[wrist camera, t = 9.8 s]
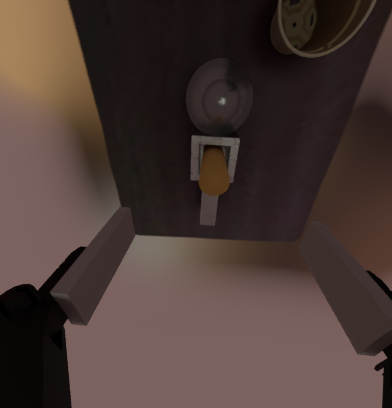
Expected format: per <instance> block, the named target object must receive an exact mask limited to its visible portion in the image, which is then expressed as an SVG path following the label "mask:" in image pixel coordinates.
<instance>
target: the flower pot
mask: <svg viewBox="0 0 392 408" xmlns="http://www.w3.org/2000/svg"><path fill="white" fill-rule="evenodd" d="M290 1H291V0H278V7H277V9H276V11H275V14H274V16H273V19H272V22H271V27H270V37H271V42H272V44H273V46H274V47H275V49H276V50H277V51H278V52H280V53H281V54H285V55H290V54H297V55H299V56H301V57H306V58H315V57H320V56H323V55H326V54H329V53H331V52H333V51H335V50H336V49H338V48H339V47H341V46H342V45H343V44H345V43H346V42H347V41H348V40H349V39H351V38H352V37H353V35H354V34H355V33H356V32H357V31H358V30H359V29H360V27H361V26H362V25H363V23H364V22H365V21H366V19H367V18H368V16H369V14H370V12H371V11H372V9H373V7H374V5H375V3H376V0H299V3H297V4H293V5H291V6H290ZM312 15H313V23H312V25H311V26H310V19H311V16H312ZM294 23H296V26H295V27H293V24H294ZM296 45H297V48H296V49H295V48H294V46H296Z"/></svg>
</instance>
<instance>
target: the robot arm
mask: <svg viewBox="0 0 392 408" xmlns="http://www.w3.org/2000/svg"><path fill="white" fill-rule="evenodd" d="M134 237H135V232H134V227H133V221H132V216H131V211H130V208H127V207H119V209H118V210H117V211H116V212H115V213H114V215H113V216H112V217H111V218H110V219H109V221H108V222H107V223H106V224H105V226H104V227H103V228H102V229H101V231H100V232H99V233H98V234H97V235H96V237H95V238H94V239H93V240H92V242H91V243H90V244H89V245H88V246H87V247H79V248H77V249H76V250H75V251H73V252H72V253H71V254H70V255H69V256H68V257H67V258H66V259H65V261H64V262H63V263H62V264H61V265H60V266H59V268H57V269H56V271H55V272H54V273H53V274H52V275H51V276H50V277H49V278H48V279H47V281H46V282H45V283H44V284H43V285H42V286H41V287H40V288H39V290H38V291H37V290H36V288H35V287H34V286H33V285H31V284H22V285H18V286H15V287H13V288H11V289H9V290H7V291H6V292H5V293H3V294H2V295H0V408H72V407H71V395H70V384H69V373H68V362H67V350H66V339H65V329H64V326H63V325H64V323H65V322H66V320H67V319H69V321H70V322H71V324H76V325H87V324H88V322H89V320H90V318H91V316H92V315H93V313H94V311H95V309H96V307H97V305H98V304H99V302H100V300H101V298H102V296H103V294H104V292H105V291H106V289H107V287H108V285H109V283H110V281H111V280H112V278H113V276H114V274H115V272H116V270H117V268H118V267H119V265H120V263H121V261H122V259H123V257H124V255H125V254H126V252H127V250H128V248H129V246H130V245H131V243H132V241H133V239H134ZM298 250H299V251H300V253H301V255H302V256H303V258H304V260H305V262H306V264H307V266H308V267H309V269H310V271H311V273H312V274H313V276H314V278H315V280H316V282H317V283H318V285H319V287H320V289H321V290H322V292H323V294H324V295H325V297H326V299H327V301H328V303H329V305H330V306H331V308H332V310H333V312H334V313H335V315H336V317H337V319H338V321H339V322H340V324H341V326H342V328H343V329H344V331H345V333H346V335H347V336H348V338H349V340H350V342H351V344H352V345H353V347H354V349H355V351H356V352H357V354H360V355H369V356H375V355H377V354H378V353H380V352H381V351H383V352H384V353H385V355H386V356H387V359H385V360H384V361H382V362H380V363H379V364H377V365H376V366H375V368H374V369H375V370H376V371H379V370H380V369H382V368H384V373H383V374H382V375H383V402H382V408H392V291H390V290H389V288H388V287H387V286H386V284H385V283H384V282H383V281H382V280H381V279H380V278H378V277H377V276H376V275H374V274H373V273H372V272H370V271H366V270H364V269H363V267H362V266H361V265H360V264H359V263H358V262H357V261H356V259H355V258H354V257H353V256H352V255H351V254H350V253H349V251H348V250H347V249H346V248H345V247H344V246H343V245H342V243H341V242H340V241H339V240H338V239H337V238H336V237H335V235H334V234H333V233H332V232H331V231H330V230H329V229H328V228H327V226H326V225H325V224H324V223H323V222H311V224H310V226H309V228H308V230H307V232H306V234H305V236H304V239H303V240H302V243H301V245H300V247H299V249H298Z"/></svg>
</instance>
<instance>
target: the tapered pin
mask: <svg viewBox="0 0 392 408" xmlns="http://www.w3.org/2000/svg"><path fill="white" fill-rule="evenodd" d="M229 185H230V178H229V174H228V169H227V165H226V160H225V156H224V151H223V147H222V145H209V144H206V145H205V146H204V149H203V156H202V163H201V170H200V177H199V186H200V188H201V190H202V191H203V192H204V193H205V194H207V195H210V196H218V195H221V194H223V193H224V192H225V191H226V190H227V189H228V187H229Z"/></svg>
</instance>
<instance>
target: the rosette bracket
mask: <svg viewBox="0 0 392 408" xmlns="http://www.w3.org/2000/svg"><path fill="white" fill-rule="evenodd" d="M252 103H253V86H252V82H251V79H250V77H249V75H248V73H247V71H246V70H245V69H244V68H243V67H242V66H241V65H240V64H239V63H237V62H235V61H233V60H231V59H227V58H217V59H213V60H210V61H208V62H206V63H204V64H203V65H202V66H200V67H199V68H198V69H197V70H196V72H195V73H194V74H193V76H192V78H191V80H190V82H189V84H188V88H187V93H186V107H187V111H188V114H189V117H190V119H191V121H192V122H193V124H194V125H195V126H196V128H195V130H194V132H193V134H192V145H191V180H198V181H199V177H200V170H201V163H202V156H203V149H204V146H205V145H206V144H209V145H222V147H223V151H224V156H225V160H226V165H227V169H228V174H229V178H230V183H233V179H234V173H235V167H236V161H237V155H238V148H239V142H240V137H239V136H238V135H237V133H236V132H235V130H236V129H238V128H239V127H240V126H241V125H242V124H243V123H244V121H245V120H246V118H247V117H248V115H249V113H250V110H251V107H252ZM217 203H218V196H210V195H207V194H205V193H204V192H203V191H202V199H201V214H200V225H213V226H215V220H216V211H217Z"/></svg>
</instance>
